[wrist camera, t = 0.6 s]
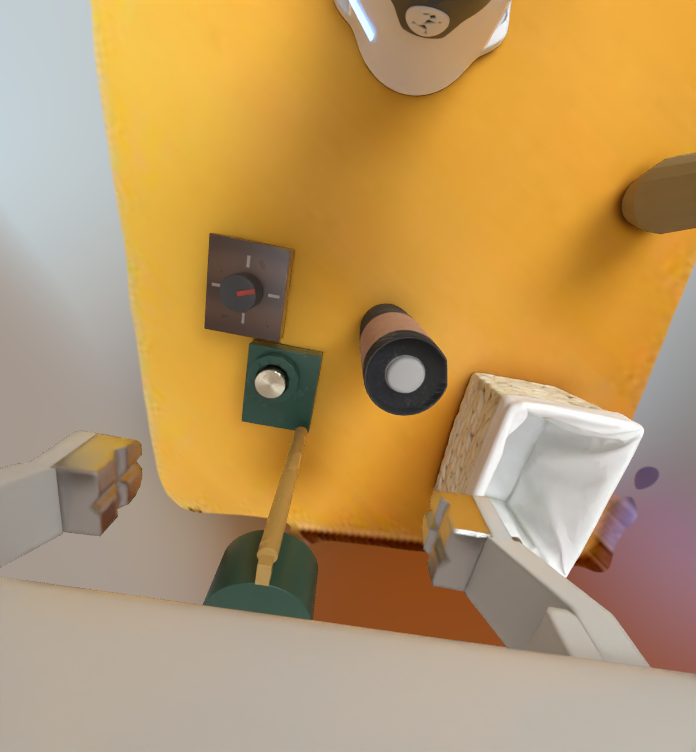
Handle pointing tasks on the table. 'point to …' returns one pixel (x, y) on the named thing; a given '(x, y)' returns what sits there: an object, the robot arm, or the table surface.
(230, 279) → the dimmer knob
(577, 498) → the basket
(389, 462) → the table surface
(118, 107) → the table surface
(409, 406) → the travel mug
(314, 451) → the table surface
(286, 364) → the lamp base
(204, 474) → the table surface
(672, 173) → the squeeze bottle
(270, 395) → the power button
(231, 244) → the dimmer
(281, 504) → the desk lamp
